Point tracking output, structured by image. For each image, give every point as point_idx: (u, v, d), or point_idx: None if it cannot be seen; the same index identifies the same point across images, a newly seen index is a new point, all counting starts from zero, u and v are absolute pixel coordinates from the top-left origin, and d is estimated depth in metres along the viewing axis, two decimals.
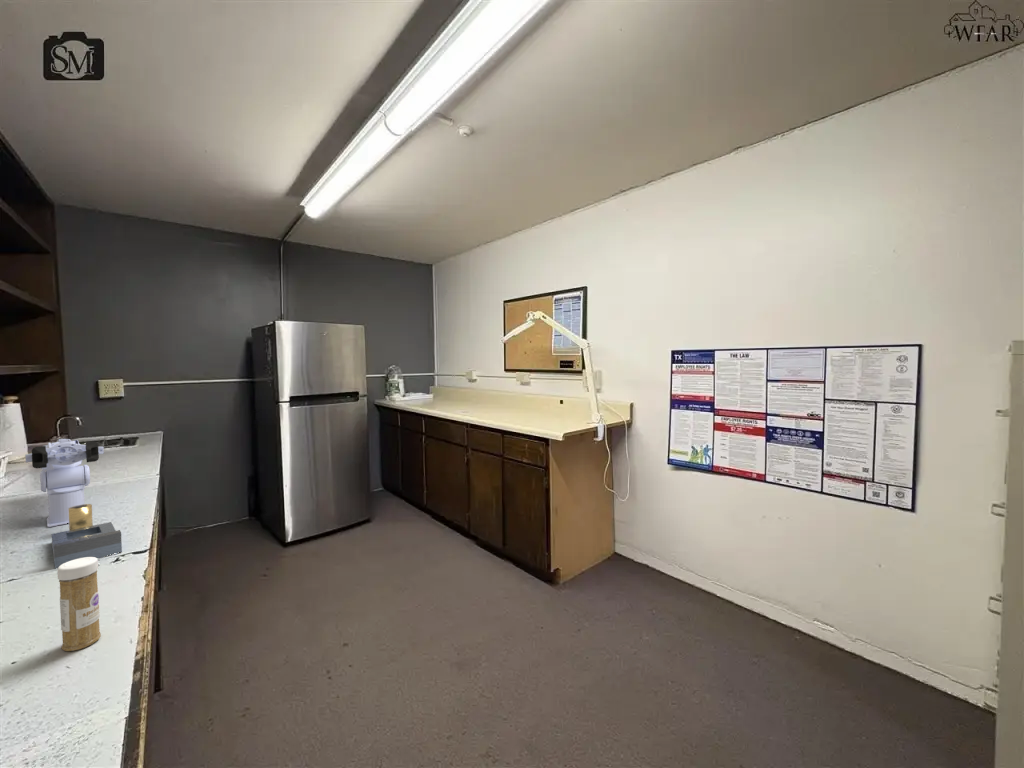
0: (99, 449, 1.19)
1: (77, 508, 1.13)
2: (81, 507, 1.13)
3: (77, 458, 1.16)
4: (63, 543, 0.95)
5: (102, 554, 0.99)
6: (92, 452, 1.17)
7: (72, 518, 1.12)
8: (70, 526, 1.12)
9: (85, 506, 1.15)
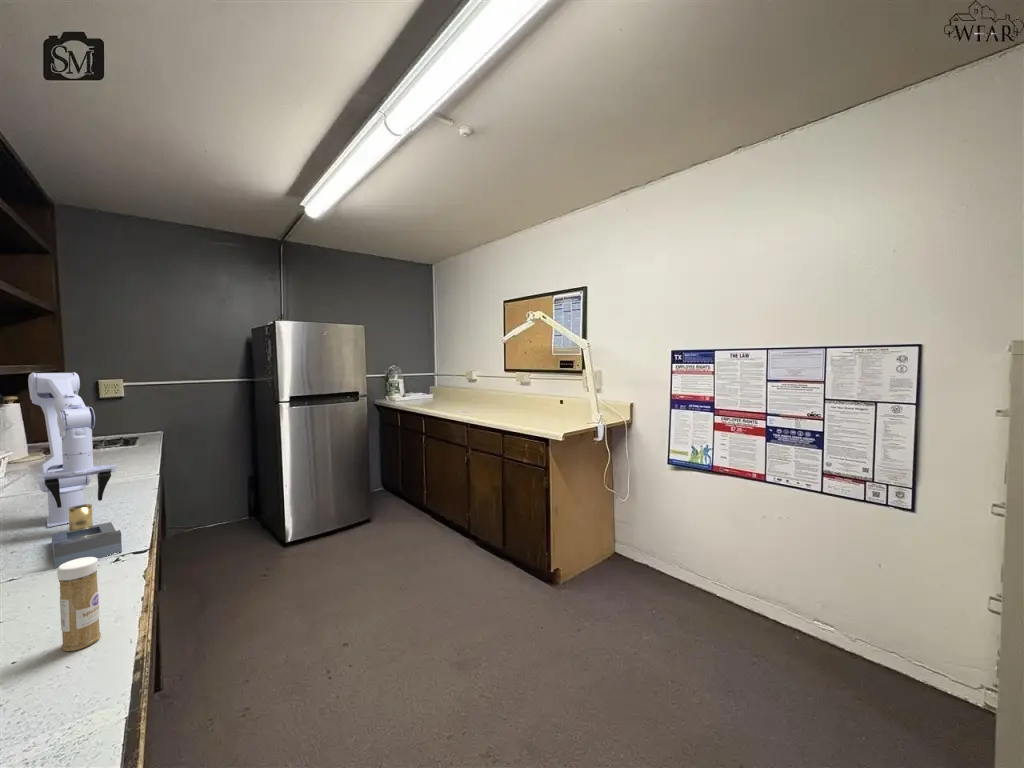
0: None
1: (77, 508, 1.13)
2: (81, 507, 1.13)
3: None
4: (63, 543, 0.95)
5: (102, 554, 0.99)
6: None
7: (72, 518, 1.12)
8: (70, 526, 1.12)
9: (85, 506, 1.15)
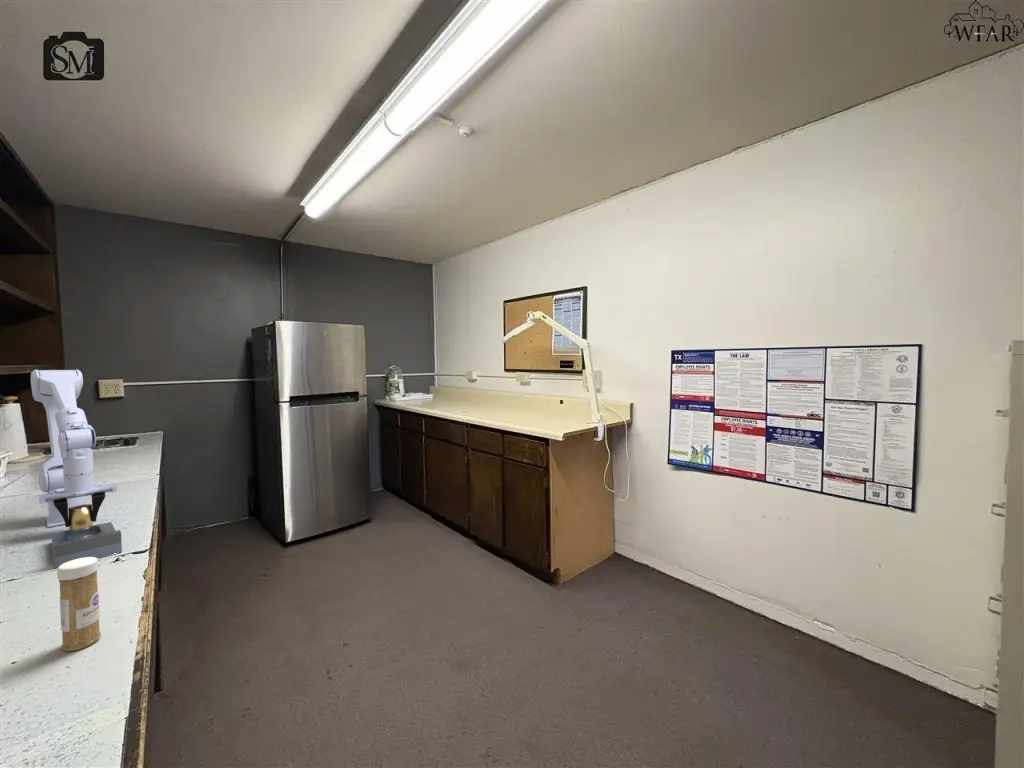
0: None
1: (77, 508, 1.13)
2: (81, 507, 1.13)
3: None
4: (63, 543, 0.95)
5: (102, 554, 0.99)
6: None
7: (72, 518, 1.12)
8: (70, 526, 1.12)
9: (85, 506, 1.15)
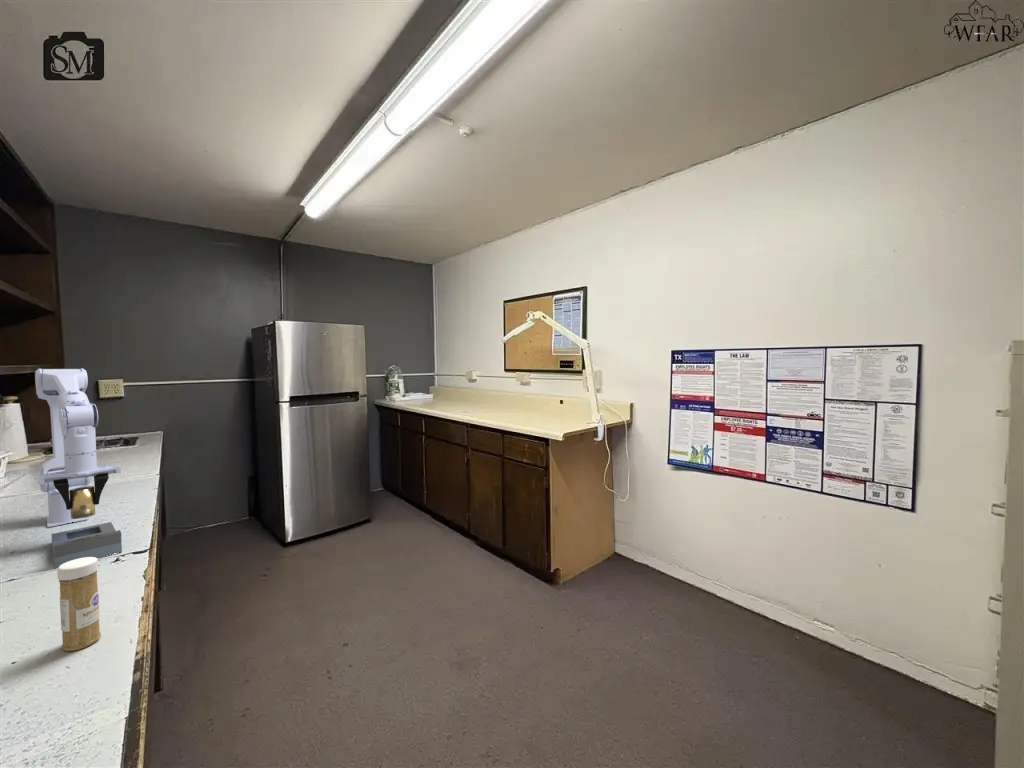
0: None
1: (79, 490, 1.06)
2: (83, 489, 1.07)
3: None
4: (63, 543, 0.95)
5: (102, 554, 0.99)
6: None
7: (73, 500, 1.05)
8: (71, 509, 1.05)
9: (87, 487, 1.08)
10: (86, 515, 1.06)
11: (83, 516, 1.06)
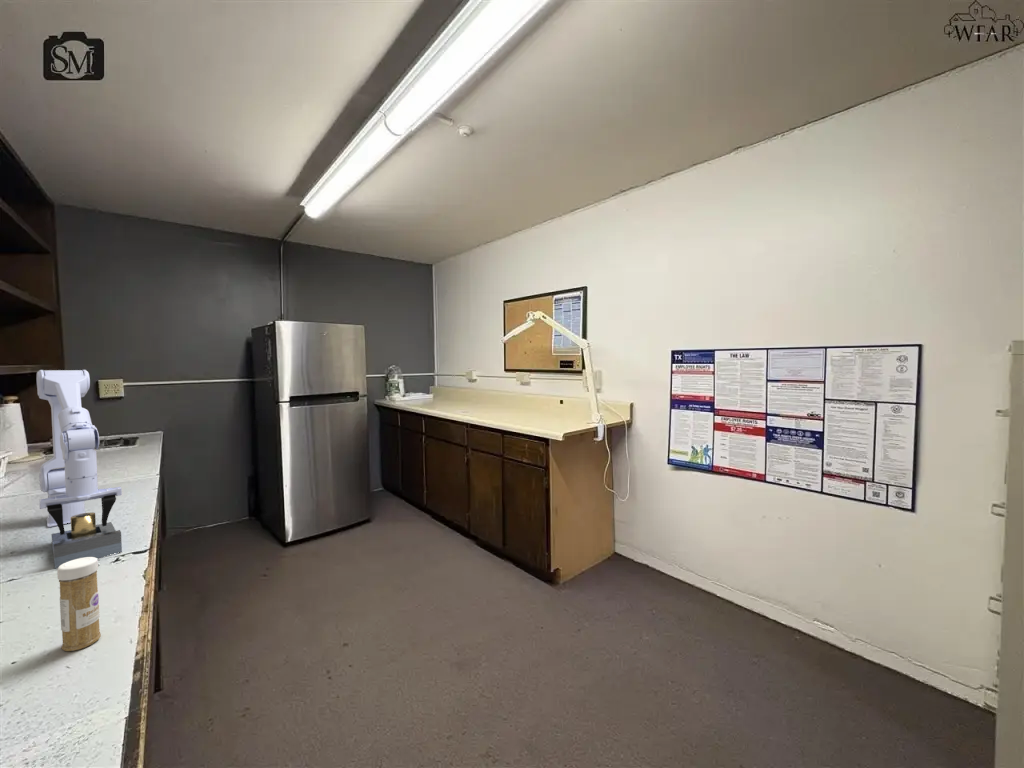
0: None
1: (80, 517, 1.06)
2: (84, 516, 1.07)
3: None
4: (63, 543, 0.95)
5: (102, 554, 0.99)
6: None
7: (74, 528, 1.05)
8: (72, 536, 1.06)
9: (88, 514, 1.08)
10: None
11: None
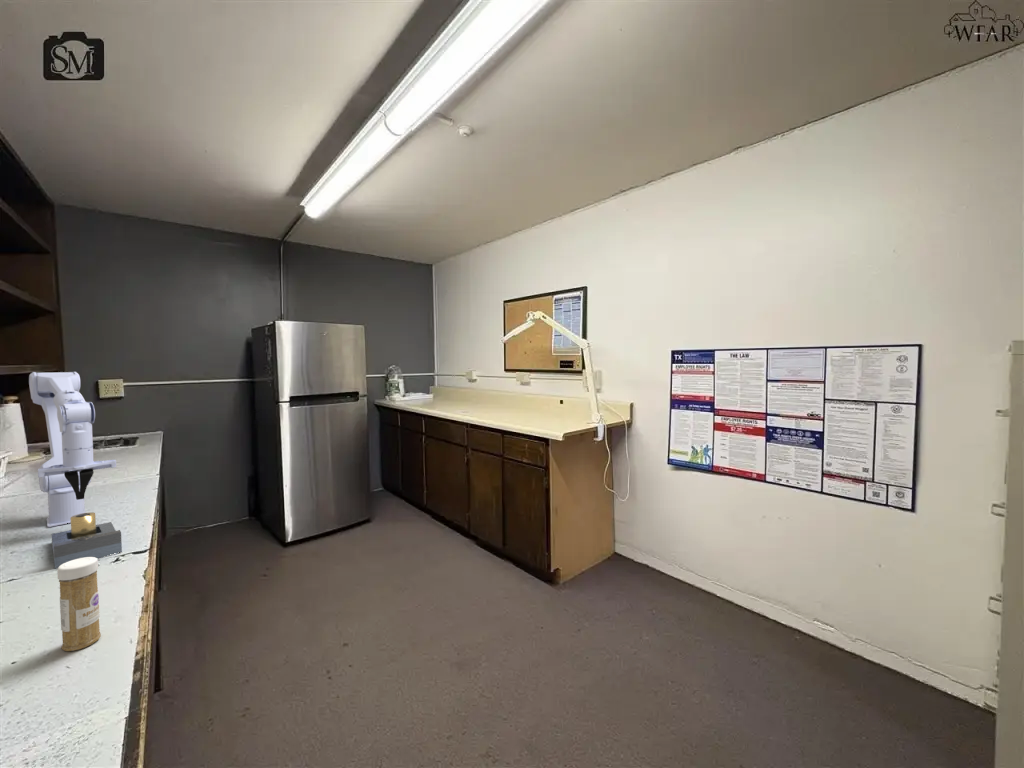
0: None
1: (80, 517, 1.06)
2: (84, 516, 1.07)
3: None
4: (63, 543, 0.95)
5: (102, 554, 0.99)
6: None
7: (74, 528, 1.05)
8: (72, 536, 1.06)
9: (88, 514, 1.08)
10: None
11: None
